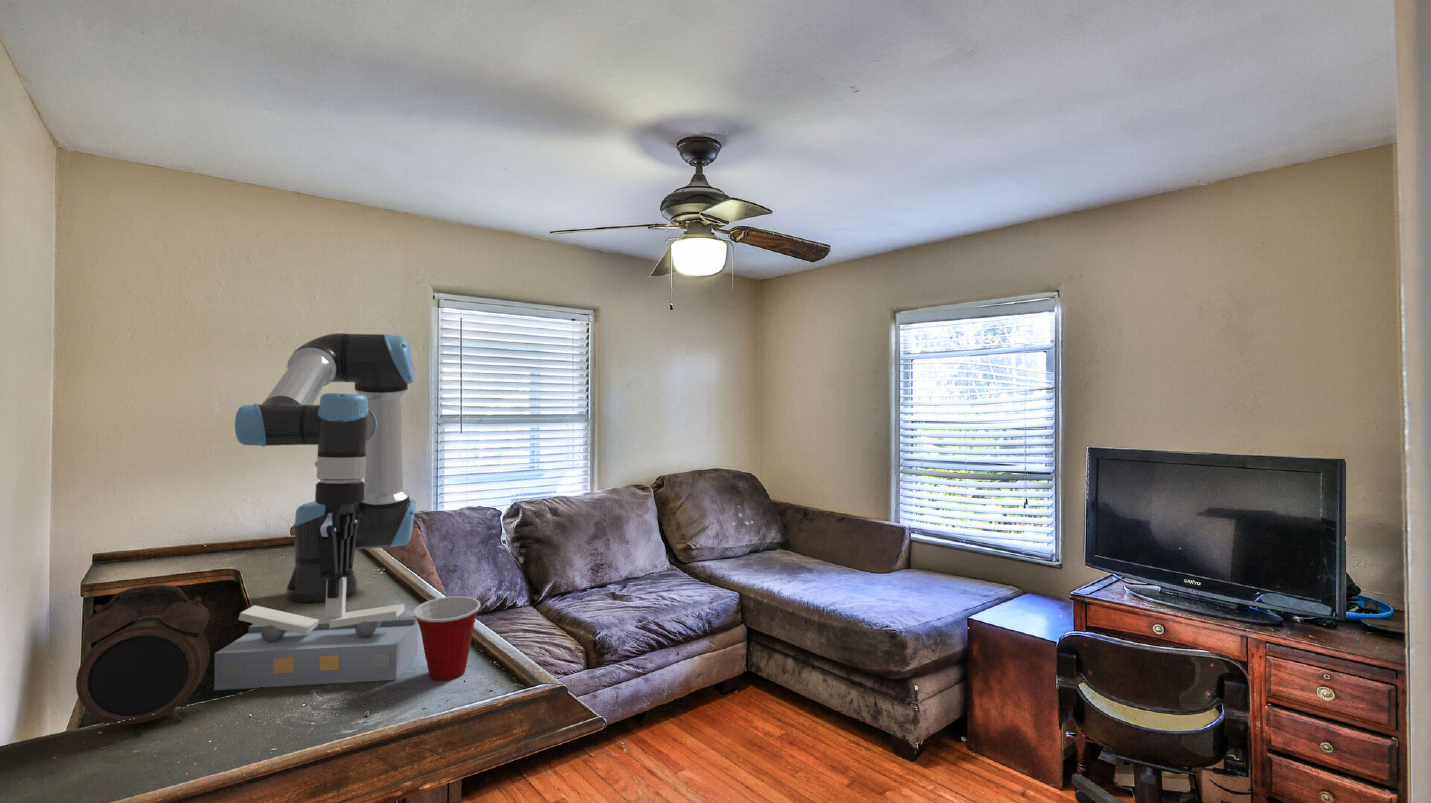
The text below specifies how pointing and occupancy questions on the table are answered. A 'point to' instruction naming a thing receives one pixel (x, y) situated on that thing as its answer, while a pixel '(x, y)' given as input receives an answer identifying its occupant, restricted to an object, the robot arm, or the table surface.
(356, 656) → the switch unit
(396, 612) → the rocker right
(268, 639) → the rocker left
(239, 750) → the table surface
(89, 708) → the alarm clock
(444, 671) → the plastic cup
